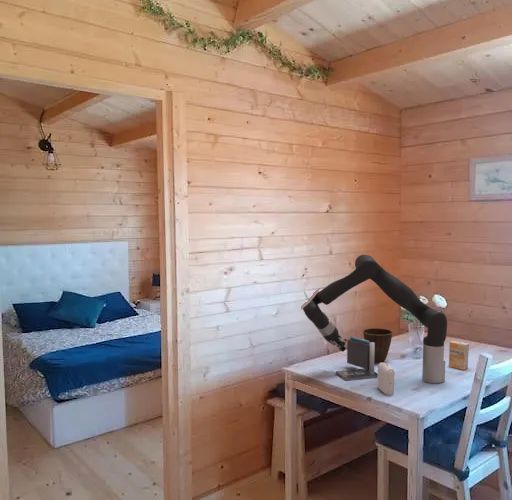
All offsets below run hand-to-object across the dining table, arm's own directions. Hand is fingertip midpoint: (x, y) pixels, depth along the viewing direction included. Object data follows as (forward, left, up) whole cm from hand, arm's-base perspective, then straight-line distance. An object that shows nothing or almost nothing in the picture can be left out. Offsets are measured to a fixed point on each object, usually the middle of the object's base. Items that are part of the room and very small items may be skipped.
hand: (343, 349), depth 252 cm
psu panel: (-4, +7, -11) cm, 14 cm away
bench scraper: (-9, +1, -9) cm, 13 cm away
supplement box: (-59, +10, -11) cm, 61 cm away
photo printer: (-6, +30, -11) cm, 32 cm away
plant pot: (-25, -11, -11) cm, 29 cm away
